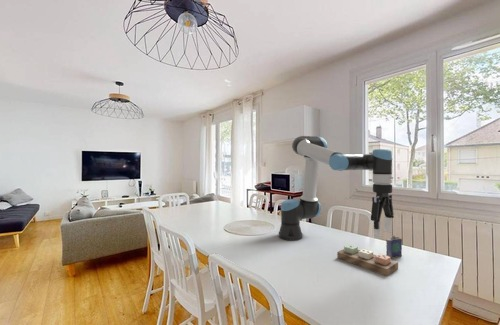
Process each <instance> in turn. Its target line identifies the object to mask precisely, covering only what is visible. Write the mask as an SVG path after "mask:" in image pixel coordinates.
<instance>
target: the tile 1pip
mask: <svg viewBox="0 0 500 325" xmlns="http://www.w3.org/2000/svg"><path fill="white" fill-rule="evenodd" d="M343 249H344V252H347V253H350V254H355V253H357V252H358V250H359V249H358V246H355V245H352V244H347V245H345V246H344V247H343Z"/></svg>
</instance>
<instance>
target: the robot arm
mask: <svg viewBox="0 0 500 325" xmlns="http://www.w3.org/2000/svg"><path fill="white" fill-rule="evenodd" d="M291 146H292V147H291V148H292V150H293V153H295V154H297V155H298V156H302V157H303V158H304V160H305V166H304V176H303V177H304V178H303V184H302V185H303V189H302V195H301V196H300V197H299V199H297V198H291V199H290V198H289V199H285V200H283V201H282V202H281V203H280V204H281V205H280V210H281V212H280V218H281V219H280V222H281V224H280V228H279V231H278V238H279V239H281V240H286V241H299V240H302V239H303V236H304V235H303V231H302V228H301V225H300V220H306V219H307V220H308V219H314V218H317V217H319V215H320V214H321V211H322V205H321V203H320V201H319V199H318V197H317V190H318V180H319V179H318V178H319V170H320V163H323V164H326V165H327V166H329V167H330V168H331V169H332V170H334V171H340V172H342V171H372V183H373V184H372V192H373V193H376V194H375V196H372V198H371V199H372V200H371V201H372V205H371V213H370V221H372V222H373V236H374V237H378V238H381V237H382V222H381V218H382V212H384V217H383V228H384V230H383V231H384V232H386V233H392V219H393V218H395V217H394V214H395V213H394V206H393V195H391V194H392V193H393V184H392V183H393V179H394V177H393V155H392V154H393V153H392V150H391V149H389V148H376V149H373V150H372V153H365V154H364V153H363V154H360V153H358V154H355V153H353V154H351V153H350V154H348V153H347V154H346V153H342V152H339V151H336V150H333V149H329V148H328V143H327V140H325V138H323V137H321V136H313V135H312V136H311V135H309V136H307V135H300V136H298V137H296V138H294V140H293V141H292V145H291Z"/></svg>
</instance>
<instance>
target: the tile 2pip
mask: <svg viewBox="0 0 500 325" xmlns="http://www.w3.org/2000/svg"><path fill="white" fill-rule="evenodd" d="M359 250H360V249H359ZM373 254H374V251H371V250H368V249H365V248H362V249H361V250H360V251H359V257H362V258H365V259H368V260H369V259H371V258H373Z"/></svg>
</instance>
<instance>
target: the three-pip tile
mask: <svg viewBox="0 0 500 325" xmlns="http://www.w3.org/2000/svg"><path fill="white" fill-rule="evenodd" d="M376 255H377V256H375V262H377V263H380V264H383V265H388V264H389V263H391V260H392V258H391V257H389V256H386V254H381V253H378V254H376Z"/></svg>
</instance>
